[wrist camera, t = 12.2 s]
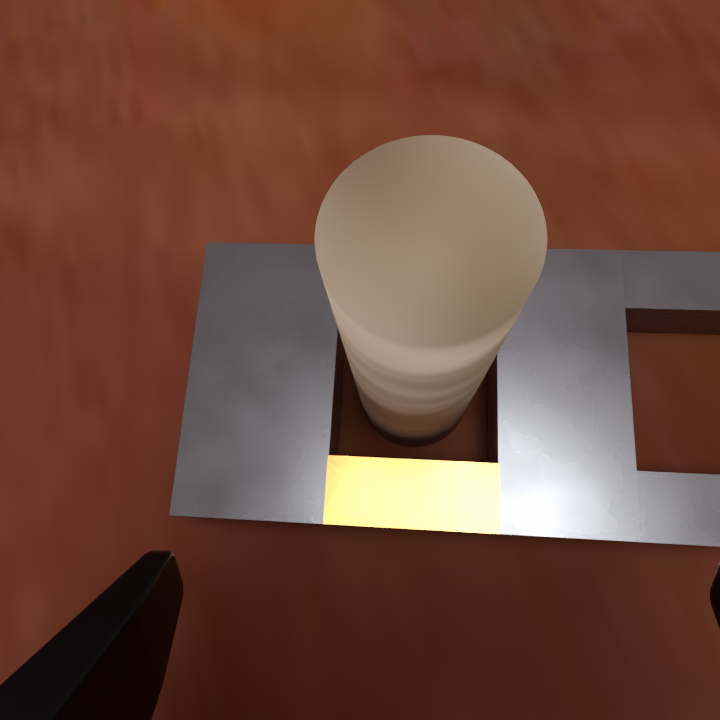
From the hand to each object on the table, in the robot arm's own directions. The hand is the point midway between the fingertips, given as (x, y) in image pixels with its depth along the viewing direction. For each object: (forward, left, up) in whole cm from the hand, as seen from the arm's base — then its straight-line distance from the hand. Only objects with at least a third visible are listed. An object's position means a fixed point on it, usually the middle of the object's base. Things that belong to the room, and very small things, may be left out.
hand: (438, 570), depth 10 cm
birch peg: (+4, +4, -12) cm, 13 cm away
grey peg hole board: (+7, +1, -12) cm, 14 cm away
